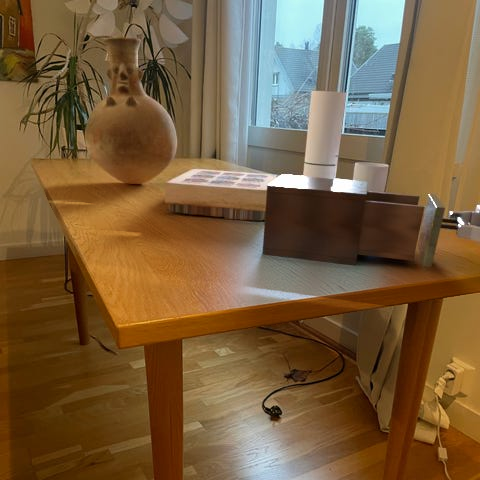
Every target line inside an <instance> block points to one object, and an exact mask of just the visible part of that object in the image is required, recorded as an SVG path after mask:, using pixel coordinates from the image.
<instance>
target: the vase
mask: <svg viewBox="0 0 480 480" xmlns="http://www.w3.org/2000/svg"><path fill="white" fill-rule="evenodd" d="M102 41H103V43H104V45H105V47H106V50H107V53H108V57H109V62H110V66H109V68H108V69H107V71H106V75H107V77H108V79H109V80H110V81H111V88H110V91H109V94H108V95H107V96H106V97H105V98H103V99H102V100H100V101H99V102H98V103H97V104H96V105H95V107H94V108H93V109H92V111H91V112H90V114H89V116H88V119H87V121H86V124H85V129H84V142H85V148H86V151H87V153H88V155H89V157H90V159H92V161H93V162H94V163H95V164H96V165H97V166H98V167H99V168H100V169H101V170H103V171H104V172H105V173H107V174H108V175H109V176H111V177H112V178H114V179H116V180H118V181H119V182H122V183H125V184H129V185H139V184H140V185H141V184H145V183H148V182H150V181H151V180H153V179H154V178H156V177H158V176H159V175H160V174H161V173H163V171H165V170H166V169H167V168H168V167H169V166H170V164H171V163H172V162H173V160H174V158H175V156H176V153H177V148H178V136H177V132H176V128H175V124H174V122H173V119H172V117H171V116H170V114H169V113H168V111H167V110H166V109H165V107H164V106H163V105H162V104H160V102H158V101H157V100H155V99H154V98H152V97H150V96H149V95H148V94H147V93H146V92H145V90H144V86H143V84H142V79H143V77H144V72H143V70H142V69H141V68H139V49H140V46H141V44H142V40H141V39H140V38H136V37H124V36H112V37H111V36H110V37H106V38H103V39H102Z"/></svg>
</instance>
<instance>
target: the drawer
mask: <svg viewBox="0 0 480 480" xmlns="http://www.w3.org/2000/svg"><path fill="white" fill-rule="evenodd" d="M419 201H420V195H415V194H404V193H395V192H394V193H393V192H385V191H384V192H373V191H367V196H366V203H365V209H364V215H363V222H362V228H361V234H360V241H359V247H358V253H357V255H361V256H367V257H368V256H369V257H377V258H386V259H395V260H403V261H414V259H415V255H416V250H417V249H418V252H419V256H420V258H421V263H422V266H423V267H427V268H428V267H429V268H432V267H433V263H434V259H435V254H436V249H437V245H438V242H439V241H438V240H439V237H440V232H441V229H444V230H446V229H447V230H454V231H455V230H457V226H458V225H459V224H468V225H471V224H470V223H469V222H468V221H467V219H466V218H465V217H459V218H457V220H456V219H448V217H447V218H446V217H444V215H445V210H446V207H445V206H444V203H442V201H441V200H440V198H439V197H438V195H437V194H436V193H428V195H427V200H426V204H425V206H424V205H419V203H420V202H419ZM453 223H454V224H453ZM471 226H472V225H471Z"/></svg>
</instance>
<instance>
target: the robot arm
mask: <svg viewBox="0 0 480 480" xmlns="http://www.w3.org/2000/svg"><path fill="white" fill-rule="evenodd" d="M459 217H465V218H466V219H467V221H468V222H469V223H470V224H471V225H468V224H459V225H458V226H457V230H456V232H455V235H456V237H457V238H459V239H465V240H466V239H467V240H471V241H474V242H478V243H480V204H477V205H476V207H475V210H464V211H459V210H451V211H449V213H448V217H447V219H456V220H457V218H459ZM452 225H455V224H454V223H452Z"/></svg>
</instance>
